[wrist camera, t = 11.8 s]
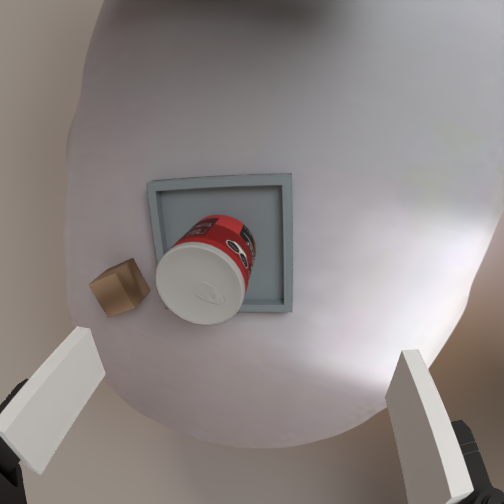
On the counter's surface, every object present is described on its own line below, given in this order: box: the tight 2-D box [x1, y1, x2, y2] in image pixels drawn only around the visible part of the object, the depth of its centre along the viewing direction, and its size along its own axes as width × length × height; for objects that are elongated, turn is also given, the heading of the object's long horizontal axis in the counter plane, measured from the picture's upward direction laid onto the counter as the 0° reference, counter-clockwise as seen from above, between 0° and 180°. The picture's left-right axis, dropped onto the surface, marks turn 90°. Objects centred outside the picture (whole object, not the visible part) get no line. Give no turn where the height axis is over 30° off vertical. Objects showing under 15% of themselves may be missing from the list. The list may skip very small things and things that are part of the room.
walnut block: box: [89, 258, 150, 317], centre depth 38 cm, size 5×5×5 cm
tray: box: [147, 173, 293, 312], centre depth 35 cm, size 16×16×2 cm
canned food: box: [155, 215, 256, 325], centre depth 31 cm, size 8×8×11 cm
